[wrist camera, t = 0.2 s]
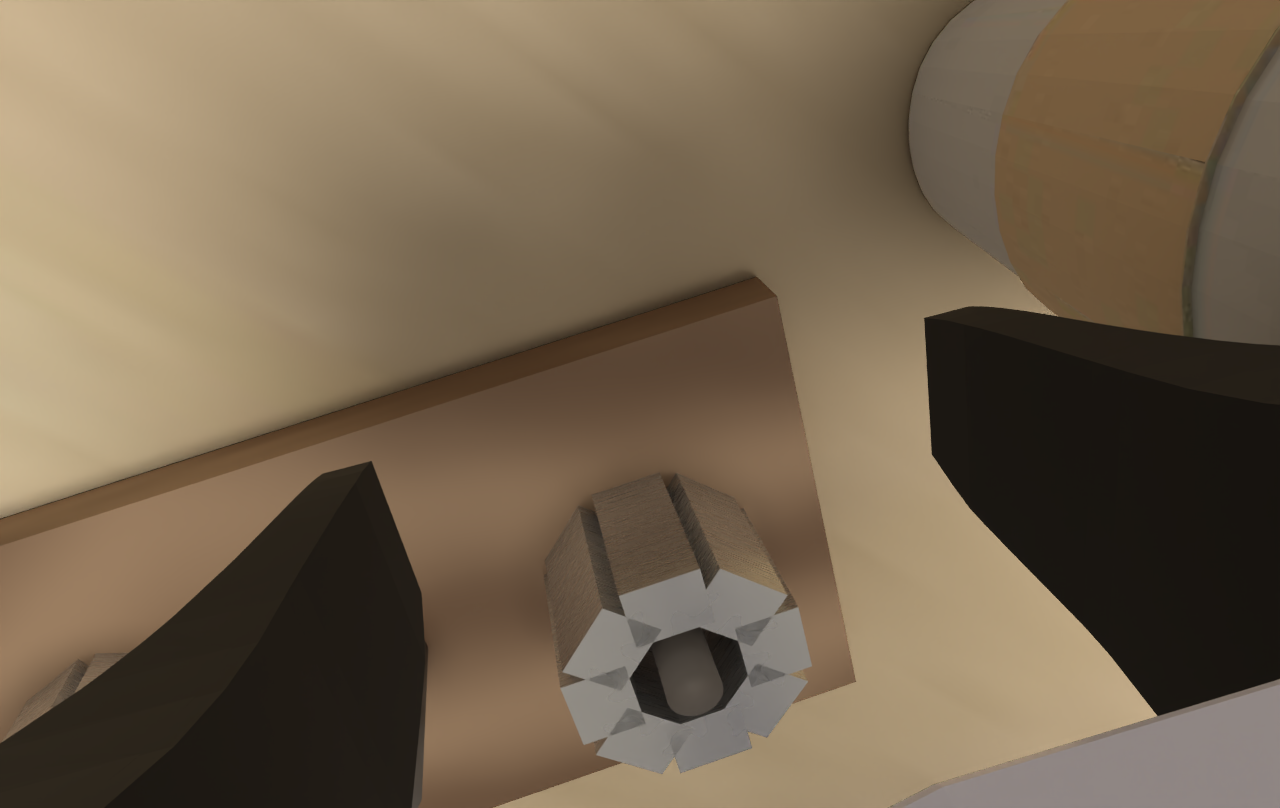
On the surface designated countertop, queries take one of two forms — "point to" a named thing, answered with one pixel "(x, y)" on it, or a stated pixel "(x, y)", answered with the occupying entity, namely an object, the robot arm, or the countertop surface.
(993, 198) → the coffee cup
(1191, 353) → the robot arm
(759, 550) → the steel gear
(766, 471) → the gear board
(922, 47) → the countertop surface
